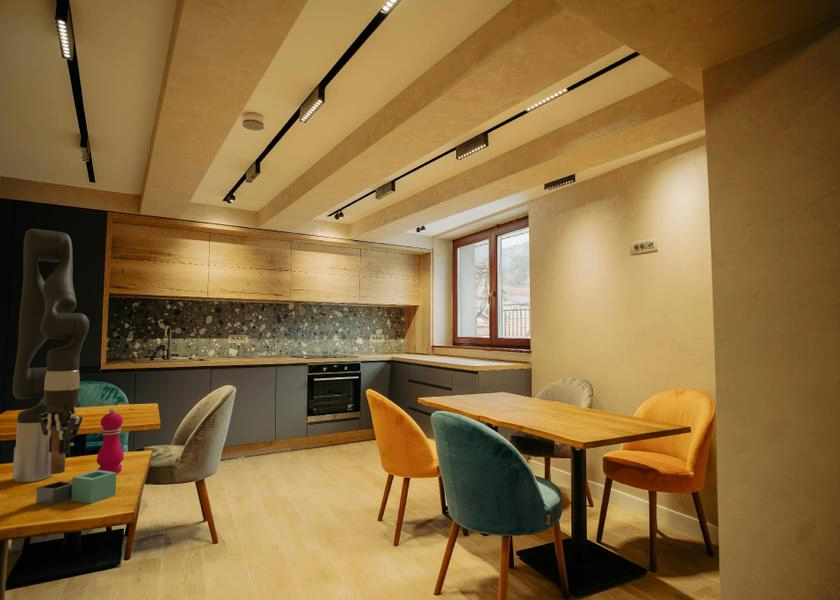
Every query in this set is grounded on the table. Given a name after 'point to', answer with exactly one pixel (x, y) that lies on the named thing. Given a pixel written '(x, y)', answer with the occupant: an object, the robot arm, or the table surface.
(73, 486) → the socket
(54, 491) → the mount
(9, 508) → the table surface
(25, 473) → the robot arm
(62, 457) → the pin
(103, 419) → the pepper mill
